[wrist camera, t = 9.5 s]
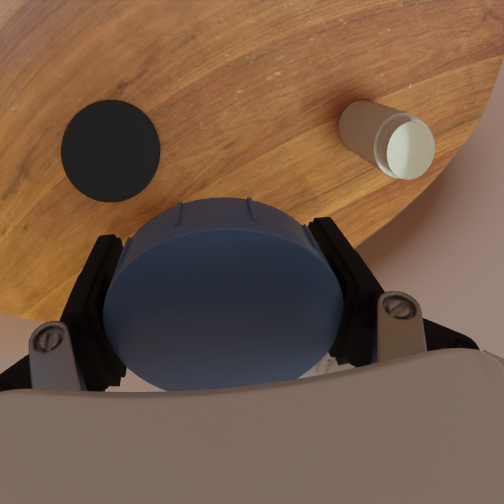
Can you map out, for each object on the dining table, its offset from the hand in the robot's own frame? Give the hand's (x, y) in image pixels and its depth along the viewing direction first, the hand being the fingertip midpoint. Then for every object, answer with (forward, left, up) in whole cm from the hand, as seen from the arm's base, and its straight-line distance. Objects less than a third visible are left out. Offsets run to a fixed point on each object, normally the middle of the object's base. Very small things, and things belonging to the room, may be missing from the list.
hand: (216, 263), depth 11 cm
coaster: (-1, +10, -22) cm, 24 cm away
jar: (0, -17, -22) cm, 27 cm away
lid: (0, 0, +3) cm, 3 cm away
